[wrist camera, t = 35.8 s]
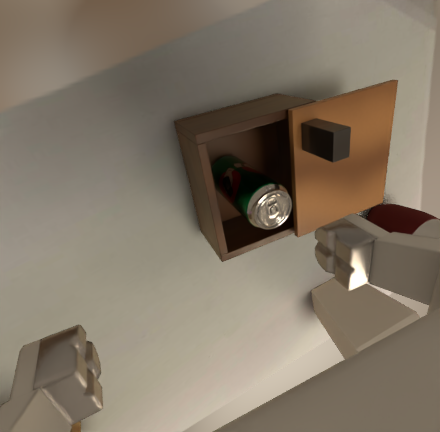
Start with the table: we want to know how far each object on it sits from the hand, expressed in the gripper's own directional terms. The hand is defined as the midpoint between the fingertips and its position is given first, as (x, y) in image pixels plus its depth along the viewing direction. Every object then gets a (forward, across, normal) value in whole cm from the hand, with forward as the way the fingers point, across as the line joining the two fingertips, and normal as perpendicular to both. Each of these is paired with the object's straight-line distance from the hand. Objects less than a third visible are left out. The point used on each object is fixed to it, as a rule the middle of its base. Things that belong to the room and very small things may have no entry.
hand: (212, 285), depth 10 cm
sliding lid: (+21, -23, +9) cm, 32 cm away
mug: (+29, -38, +27) cm, 55 cm away
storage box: (+29, -13, +9) cm, 33 cm away
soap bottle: (+29, -29, +41) cm, 58 cm away
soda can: (+28, -11, +9) cm, 31 cm away
